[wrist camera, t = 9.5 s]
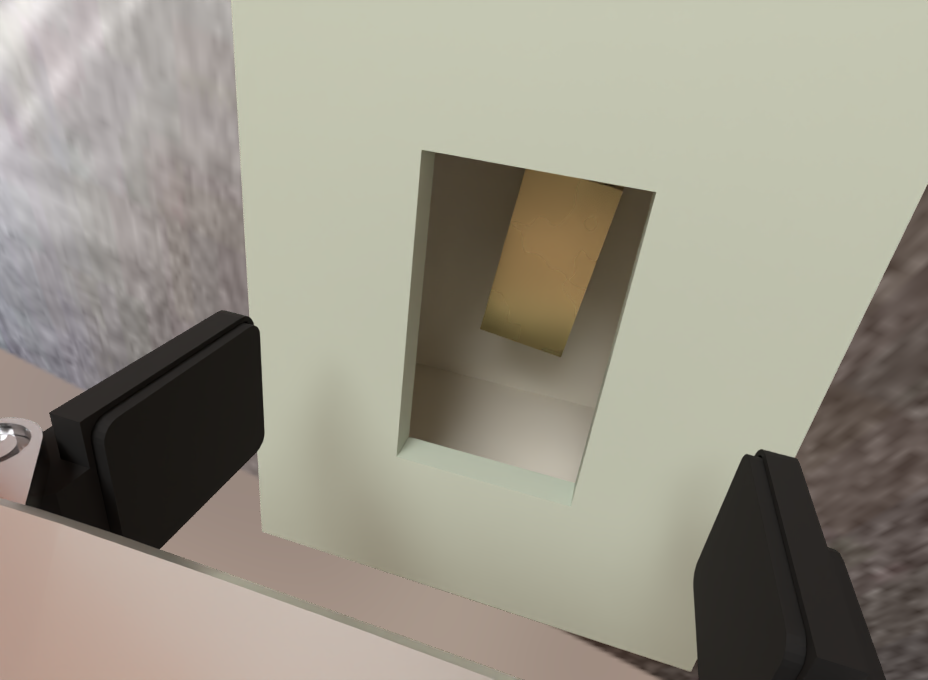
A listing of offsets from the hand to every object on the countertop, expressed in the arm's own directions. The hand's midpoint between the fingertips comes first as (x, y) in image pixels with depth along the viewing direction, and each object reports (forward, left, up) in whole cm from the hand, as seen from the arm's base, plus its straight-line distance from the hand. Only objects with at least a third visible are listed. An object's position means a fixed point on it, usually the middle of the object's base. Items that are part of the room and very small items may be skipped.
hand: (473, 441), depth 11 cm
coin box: (0, 0, -16) cm, 16 cm away
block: (0, 0, -15) cm, 15 cm away
